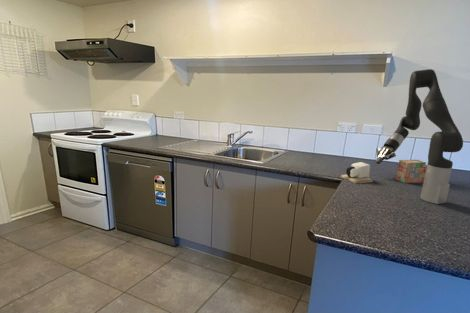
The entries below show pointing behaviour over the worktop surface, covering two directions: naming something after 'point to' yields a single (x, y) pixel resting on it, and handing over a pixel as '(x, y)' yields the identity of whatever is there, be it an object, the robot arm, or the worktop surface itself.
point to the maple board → (357, 179)
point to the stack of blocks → (411, 171)
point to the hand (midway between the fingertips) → (377, 162)
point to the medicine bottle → (358, 170)
